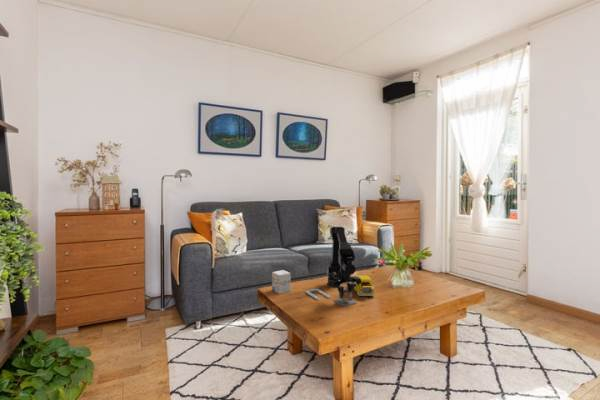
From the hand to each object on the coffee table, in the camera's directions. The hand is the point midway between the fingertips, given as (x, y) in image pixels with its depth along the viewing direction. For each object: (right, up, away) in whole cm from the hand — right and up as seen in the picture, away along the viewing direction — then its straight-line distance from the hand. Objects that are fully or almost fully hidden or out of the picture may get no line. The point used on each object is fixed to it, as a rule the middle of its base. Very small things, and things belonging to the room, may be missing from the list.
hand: (344, 297), depth 178 cm
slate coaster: (0, -3, 0) cm, 3 cm away
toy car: (+14, -3, +19) cm, 23 cm away
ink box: (-37, -2, +18) cm, 41 cm away
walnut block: (0, -1, 0) cm, 1 cm away
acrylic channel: (-15, -2, +11) cm, 18 cm away
